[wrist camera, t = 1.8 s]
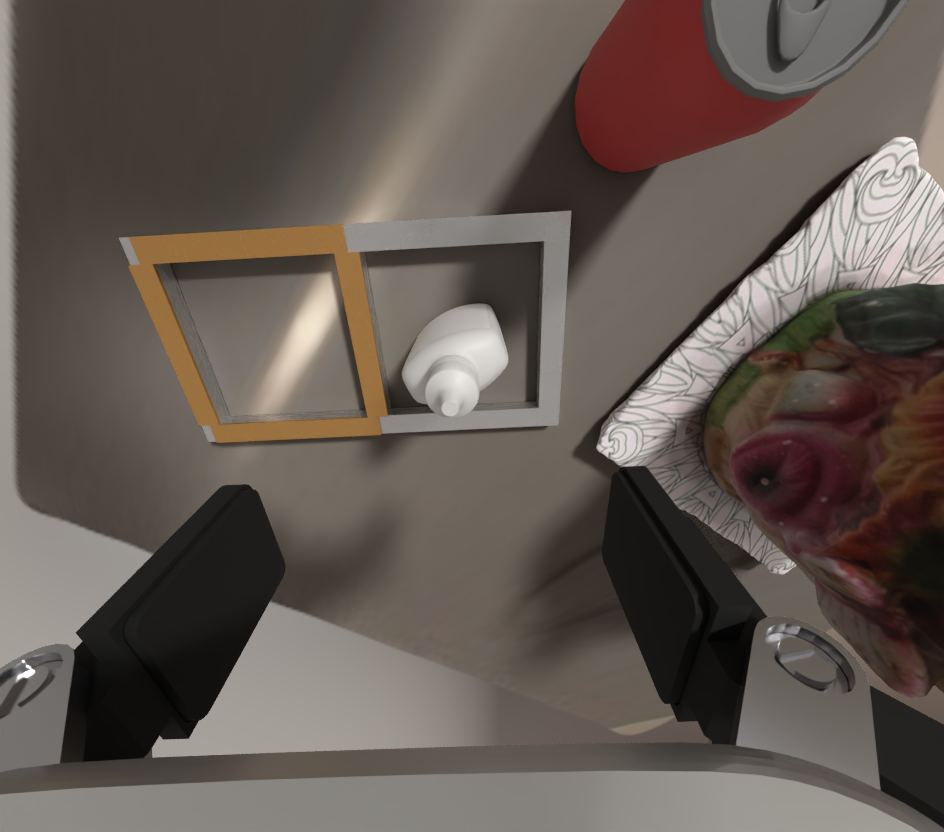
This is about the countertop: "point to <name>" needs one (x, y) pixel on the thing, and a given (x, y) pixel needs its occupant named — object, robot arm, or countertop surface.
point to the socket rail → (352, 319)
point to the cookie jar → (824, 415)
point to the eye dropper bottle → (456, 359)
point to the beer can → (713, 71)
